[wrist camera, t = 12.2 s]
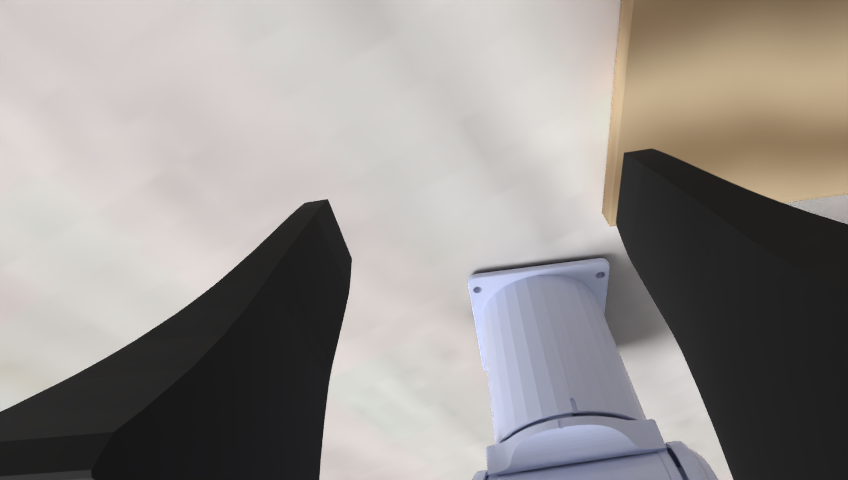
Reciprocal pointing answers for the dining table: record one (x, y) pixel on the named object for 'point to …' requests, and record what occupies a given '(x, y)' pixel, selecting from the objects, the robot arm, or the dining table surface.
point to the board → (735, 93)
